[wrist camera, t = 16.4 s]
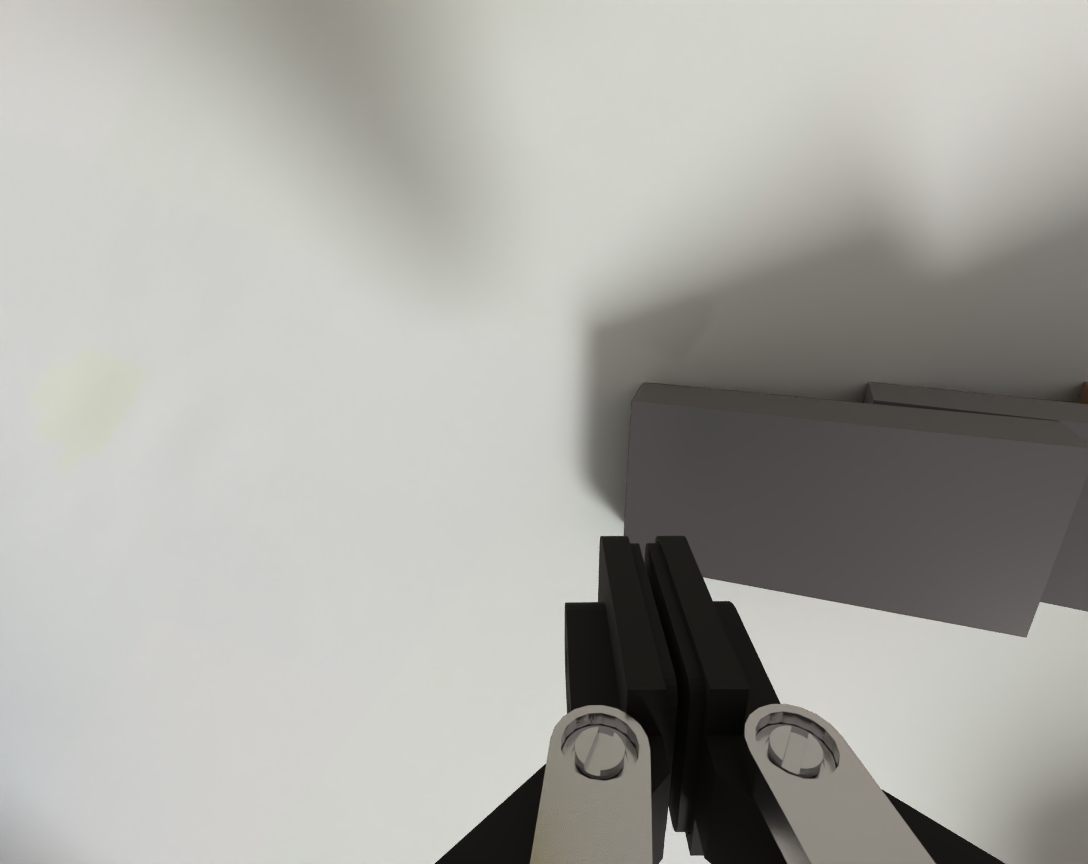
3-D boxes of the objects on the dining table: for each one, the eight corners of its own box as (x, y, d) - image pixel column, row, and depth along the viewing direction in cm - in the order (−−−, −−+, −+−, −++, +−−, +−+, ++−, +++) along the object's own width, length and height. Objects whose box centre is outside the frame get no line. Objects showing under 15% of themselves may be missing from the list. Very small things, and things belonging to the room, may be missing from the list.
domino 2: (839, 560, 17) (1312, 657, 14) (873, 399, 16) (1430, 461, 12) (837, 531, 19) (1261, 611, 15) (868, 382, 17) (1360, 431, 13)
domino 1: (622, 562, 17) (1026, 637, 14) (631, 400, 16) (1096, 449, 13) (633, 531, 19) (999, 593, 16) (643, 382, 17) (1059, 421, 14)
